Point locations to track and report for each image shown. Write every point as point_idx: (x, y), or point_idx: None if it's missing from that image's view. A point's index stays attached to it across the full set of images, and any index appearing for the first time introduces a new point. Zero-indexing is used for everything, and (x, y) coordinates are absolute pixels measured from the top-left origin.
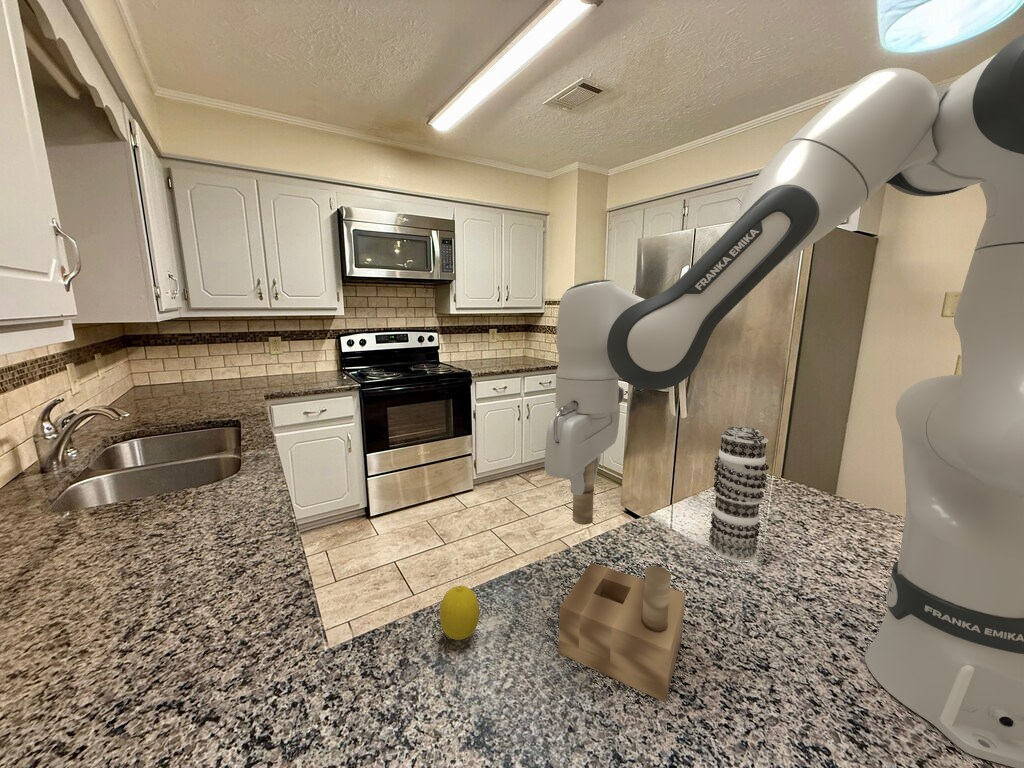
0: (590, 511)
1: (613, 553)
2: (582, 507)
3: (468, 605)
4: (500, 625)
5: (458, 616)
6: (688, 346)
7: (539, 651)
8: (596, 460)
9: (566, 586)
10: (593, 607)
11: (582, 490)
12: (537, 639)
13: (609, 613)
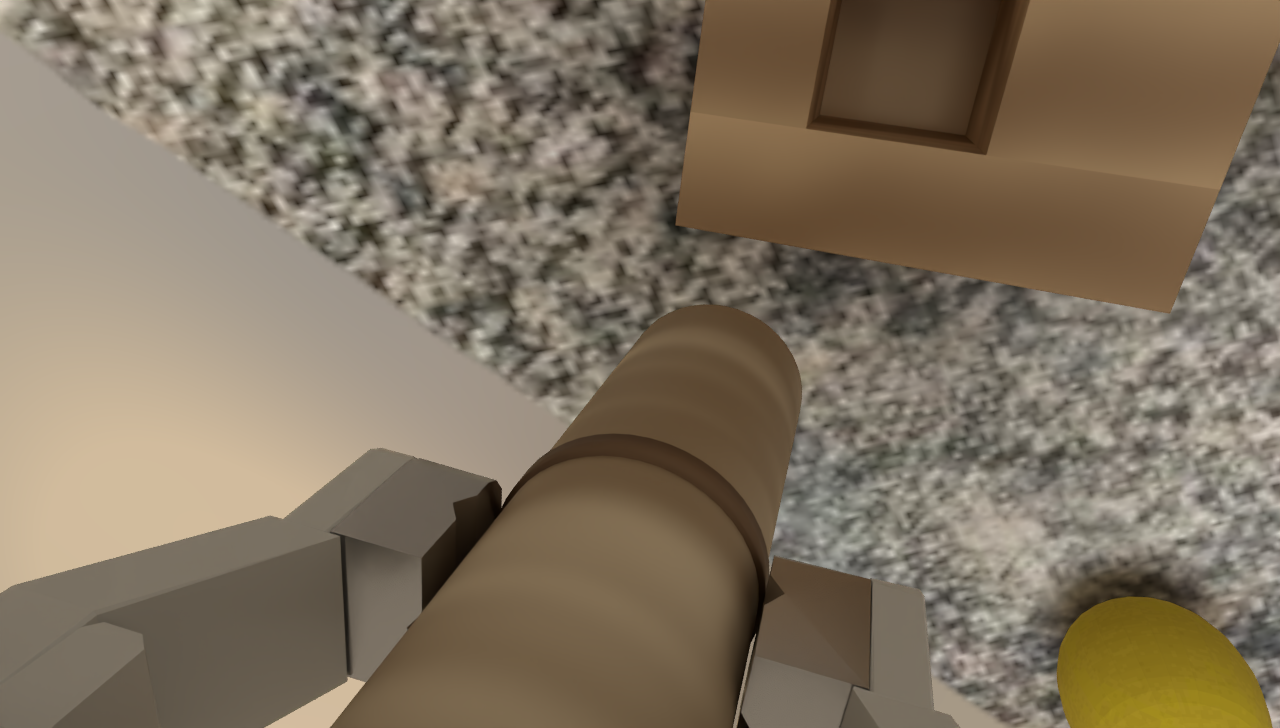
0: (739, 362)
1: (316, 142)
2: (784, 459)
3: (1235, 711)
4: (1000, 499)
5: (1269, 717)
6: None
7: (1107, 322)
8: (146, 663)
9: (654, 304)
10: (1126, 127)
11: (922, 625)
12: (1037, 345)
13: (1163, 20)
